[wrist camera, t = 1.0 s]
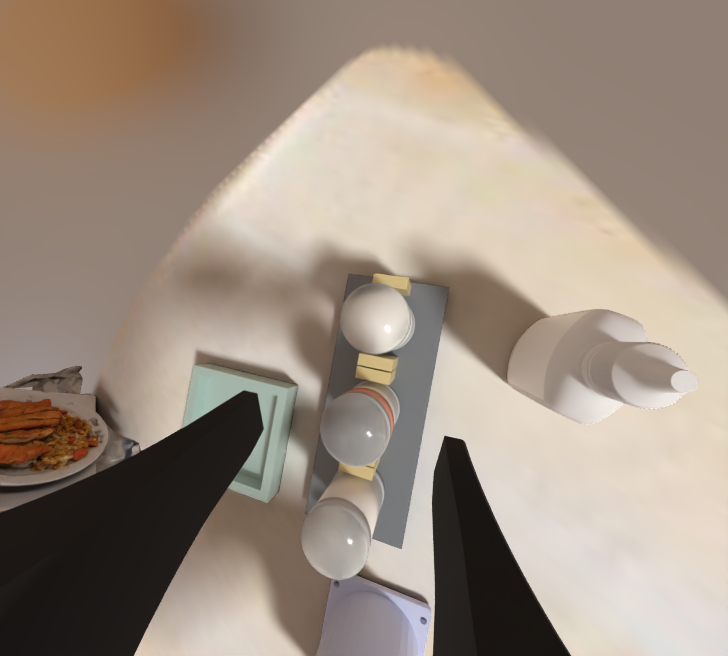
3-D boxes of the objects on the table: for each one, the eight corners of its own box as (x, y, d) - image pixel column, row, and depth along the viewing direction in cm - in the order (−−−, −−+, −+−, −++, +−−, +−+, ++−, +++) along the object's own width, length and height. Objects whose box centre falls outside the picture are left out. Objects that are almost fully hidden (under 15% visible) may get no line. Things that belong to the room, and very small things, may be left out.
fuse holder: (403, 538, 22) (397, 584, 18) (311, 505, 24) (286, 540, 20) (448, 290, 22) (452, 278, 18) (352, 277, 24) (336, 264, 20)
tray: (278, 491, 24) (267, 503, 23) (191, 460, 27) (174, 469, 25) (297, 385, 24) (287, 388, 23) (209, 363, 27) (193, 364, 25)
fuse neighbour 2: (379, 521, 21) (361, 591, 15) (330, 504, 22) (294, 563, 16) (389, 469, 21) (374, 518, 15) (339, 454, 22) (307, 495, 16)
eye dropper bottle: (484, 354, 21) (554, 373, 9) (550, 310, 20) (720, 270, 8) (522, 403, 20) (649, 490, 9) (592, 360, 19) (842, 391, 8)
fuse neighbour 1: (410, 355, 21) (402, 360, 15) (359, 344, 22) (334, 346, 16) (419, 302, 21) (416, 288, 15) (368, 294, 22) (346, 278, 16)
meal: (171, 451, 27) (-54, 548, 15) (148, 482, 28) (-88, 603, 15) (88, 355, 30) (-158, 366, 18) (69, 384, 31) (-184, 416, 18)
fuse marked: (394, 438, 21) (382, 476, 15) (344, 424, 22) (314, 455, 16) (404, 385, 21) (395, 403, 15) (354, 374, 22) (327, 386, 16)
